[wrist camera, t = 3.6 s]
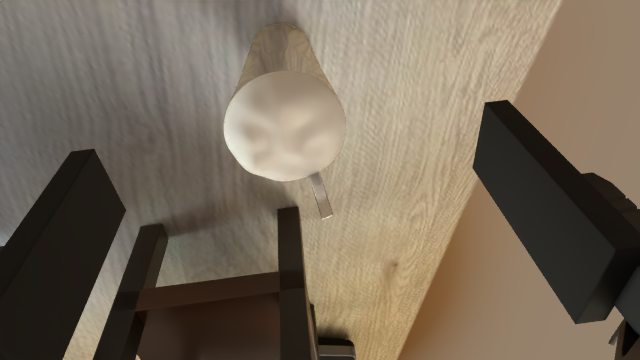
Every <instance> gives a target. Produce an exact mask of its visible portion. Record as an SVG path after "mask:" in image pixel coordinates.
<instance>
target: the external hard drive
mask: <svg viewBox="0 0 640 360" xmlns="http://www.w3.org/2000/svg"><path fill="white" fill-rule="evenodd" d="M318 346H319V356H320V360H356V354H355V348H354V344H353V342H352V341H350V340H340V339H318Z"/></svg>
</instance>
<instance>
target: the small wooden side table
mask: <svg viewBox="0 0 640 360" xmlns="http://www.w3.org/2000/svg"><path fill="white" fill-rule="evenodd" d="M277 216H278V267H279V271H278V272H270V273H263V274H255V275H248V276H240V277H232V278H225V279H217V280H209V281H202V282H194V283H187V284H179V285H171V286H164V287H156V288H155V286H156V283H157V279H158V275H159V272H160V268H161V264H162V261H163V257H164V254H165V250H166V246H167V243H168V239H169V238H168V236H167V234H166V232H165V230H164V227H163V225H162V224H158V225H150V226H143V227H141V228H140V231H139V233H138V236H137V239H136V242H135V244H134V247H133V250H132V253H131V255H130V258H129V261H128V264H127V266H126V269H125V272H124V275H123V277H122V280H121V283H120V286H119V288H118V291H117V294H116V297H115V299H114V302H113V305H112V308H111V310H110V313H109V316H108V319H107V321H106V324H105V327H104V330H103V332H102V335H101V338H100V341H99V343H98V346H97V349H96V352H95V354H94V357H93V360H135V358H136V355H138V356H139V358H140V359H141V360H320V356H319V346H318V336H317V326H316V316H315V309H314V305H310V303H309V297H308V291H307V285H306V275H305V263H304V252H303V240H302V228H301V219H300V212H299V207H292V208H284V209H278V210H277Z"/></svg>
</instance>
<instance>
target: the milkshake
mask: <svg viewBox="0 0 640 360" xmlns="http://www.w3.org/2000/svg"><path fill="white" fill-rule="evenodd" d="M345 135H346V117H345V113H344V110H343V107H342V105H341V102H340V101H339V99H338V97H337V95H336V93H335V91H334V90H333V88H332V86H331V84H330V82H329V81H328V79H327V77H326V75H325V74H324V72H323V71H322V69H321V67H320V64H319V62H318V60H317V58H316V56H315V53H314V51H313V49H312V47H311V45H310V43H309V41H308V40H307V38H306V36H305V34H304V32H303V31H301V30H299V29H297V28H295V27H293V26H291V25H289V24H287V23H279V24H274V25H268V26H265V27H264V28H263V29H262V31H261V32H260V33H259V34H258V35H257V36H256V37H255V38H254V39H253V41H252V43H251V46H250V49H249V52H248V55H247V58H246V61H245V64H244V67H243V70H242V73H241V76H240V79H239V82H238V84H237V87H236V89H235V92H234V94H233V96H232V99H231V101H230V104H229V106H228V109H227V111H226V114H225V119H224V136H225V140H226V143H227V146H228V148H229V149H230V151H231V152H232V154H233V155H234V157H235V158H236V159H237V161H238V162H239V163H240V165H241V166H242V167H243V168H244V169H246V170H247V171H248V172H250V173H253V174H255V175H259V176H262V177H265V178H268V179H271V180H275V181H282V182H283V181H293V180H298V179H301V178H305V177H308V176H309V178H310V182H311V185H312V188H313V191H314V195H315V198H316V201H317V204H318V208H319V211H320V214H321V217H322V219H326V218H328V217H331V216H332V215H333V213H332V209H331V206H330V203H329V200H328V197H327V194H326V191H325V188H324V185H323V182H322V179H321V175H320V172H319V171H320V170H322V169H323V168H325V167H326V166H327V165H329V164H330V163H331V162H332V161H333V160H334V159H335V158H336V156H337V155H338V153H339V151H340V150H341V147H342V145H343V142H344V139H345Z"/></svg>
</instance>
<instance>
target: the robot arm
mask: <svg viewBox="0 0 640 360" xmlns="http://www.w3.org/2000/svg"><path fill="white" fill-rule="evenodd" d="M473 169H474V171H475V172H476V174H477V175H478V177H479V178H480V180H481V181H482V183H483V184H484V186H485V188H486V189H487V191H488V192H489V194H490V195H491V197H492V198H493V200H494V201H495V203H496V204H497V206H498V207H499V209H500V210H501V212H502V213H503V215H504V216H505V218H506V219H507V221H508V222H509V224H510V225H511V227H512V229H513V230H514V232H515V233H516V235H517V236H518V238H519V239H520V241H521V242H522V244H523V245H524V247H525V248H526V250H527V251H528V253H529V254H530V256H531V257H532V259H533V260H534V262H535V263H536V265H537V266H538V268H539V269H540V271H541V272H542V274H543V276H544V277H545V279H546V280H547V281H548V283H549V285H550V286H551V288H552V289H553V291H554V292H555V294H556V295H557V297H558V298H559V300H560V301H561V303H562V304H563V306H564V307H565V309H566V310H567V312H568V314H569V315H570V316H571V318H572V320H573V321H574V323H575V324H580V323H587V322H595V321H603V320H606V318H607V317H608V315H609V313H610V312H611V310H612V309H613V307H614V306H615V307H616V308H617V309H618V310H619V312H620V313H621V314H622V316H623V317H624V320H623V321H622V322H621V324H620V325H619V327H618V328H617V330H616V331H615V333H614V334H613V336H612V337H611V339H610V341H609V344H611V345H614V344H615V342H616V341H617V347H616V353H615V360H640V209H637V206H636V205H635V204H634V203H633V202H632V201H631V200H629V199H628V198H627V199H626V198H625V195H624V194H623V193H622V192H621V191H620V190H619V189H618V188H617V187H615V186H614V185H613V184H612V183H611V182H609V181H607V180H605V179H604V178H602V177H600V176H598V175H596V174H594V173H585V174H581V173H580V172H579V171H578V170H577V169H576V168H575V167H574V166H573V165H572V164H571V163H570V162H569V161H567V159H566V158H565V157H564V156H563V155H562V154H561V153H560V152H558V150H557V149H556V148H555V147H554V146H553V145H552V144H551V143H550V142H549V141H548V140H547V139H546V138H545V137H544V136H543V135H542V134H541V133H540V132H539V131H538V130H537V129H536V128H535V127H534V126H533V125H532V124H531V123H530V122H529V121H528V120H527V119H526V118H525V117H524V116H523V115H522V114H521V113H520V112H519V111H518V110H517V109H516V108H515V107H514V106H513V105H512V104H511V103H510V102H509V101H508V100H502V101H494V102H485V105H484V110H483V116H482V121H481V126H480V131H479V137H478V142H477V147H476V152H475V158H474V163H473ZM125 212H126V209H125V207H124V205H123V203H122V201H121V199H120V197H119V195H118V194H117V192H116V190H115V188H114V186H113V184H112V182H111V180H110V178H109V176H108V174H107V172H106V170H105V168H104V167H103V165H102V163H101V161H100V159H99V157H98V155H97V153H96V151H95V149H90V150H81V151H73V152H71V153H70V154H69V155H68V157H67V158H66V160H65V161H64V162H63V164H62V165H61V167H60V168H59V170H58V171H57V172H56V174H55V175H54V177H53V178H52V179H51V181H50V182H49V184H48V185H47V187H46V188H45V189H44V191H43V192H42V194H41V195H40V196H39V198H38V199H37V201H36V202H35V204H34V205H33V206H32V208H31V209H30V211H29V212H28V213H27V215H26V216H25V218H24V219H23V220H22V222H21V223H20V225H19V226H18V228H17V229H16V230H15V232H14V233H13V235H12V236H11V237H10V239H9V240H8V242H7V243H6V245H5V246H1V247H0V360H62V359H63V357H64V354H65V352H66V350H67V347H68V345H69V343H70V340H71V338H72V336H73V333H74V331H75V329H76V326H77V324H78V322H79V319H80V317H81V315H82V312H83V310H84V308H85V305H86V303H87V301H88V298H89V296H90V294H91V291H92V289H93V287H94V284H95V282H96V280H97V277H98V275H99V272H100V270H101V268H102V265H103V263H104V261H105V258H106V256H107V254H108V251H109V249H110V247H111V244H112V242H113V240H114V237H115V235H116V233H117V230H118V228H119V226H120V223H121V221H122V219H123V216H124V214H125Z"/></svg>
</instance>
